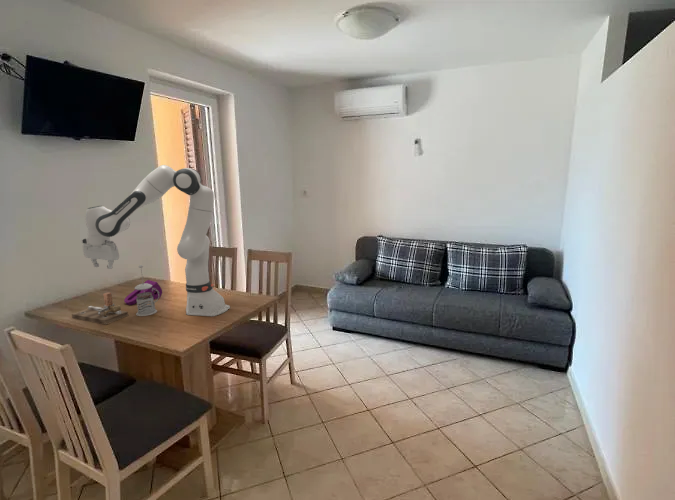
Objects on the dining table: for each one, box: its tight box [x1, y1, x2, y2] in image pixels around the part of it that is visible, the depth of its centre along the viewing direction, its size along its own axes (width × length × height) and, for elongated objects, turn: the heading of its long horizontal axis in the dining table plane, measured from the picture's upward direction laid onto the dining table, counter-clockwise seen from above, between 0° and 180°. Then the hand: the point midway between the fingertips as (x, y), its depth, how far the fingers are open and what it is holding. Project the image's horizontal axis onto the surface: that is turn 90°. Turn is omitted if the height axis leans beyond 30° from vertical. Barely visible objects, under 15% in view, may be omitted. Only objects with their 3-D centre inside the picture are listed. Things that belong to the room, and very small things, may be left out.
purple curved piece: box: [123, 279, 163, 306], centre depth 214 cm, size 9×8×18 cm
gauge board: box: [71, 304, 129, 325], centre depth 189 cm, size 24×12×6 cm, turn 68°
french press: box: [134, 264, 160, 317], centre depth 192 cm, size 10×12×25 cm
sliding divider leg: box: [98, 291, 115, 315], centre depth 187 cm, size 3×8×9 cm, turn 158°
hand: (103, 267), depth 185 cm, fingers open, 8 cm apart
